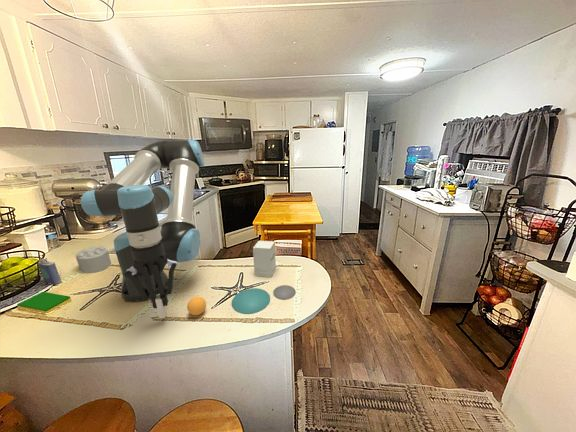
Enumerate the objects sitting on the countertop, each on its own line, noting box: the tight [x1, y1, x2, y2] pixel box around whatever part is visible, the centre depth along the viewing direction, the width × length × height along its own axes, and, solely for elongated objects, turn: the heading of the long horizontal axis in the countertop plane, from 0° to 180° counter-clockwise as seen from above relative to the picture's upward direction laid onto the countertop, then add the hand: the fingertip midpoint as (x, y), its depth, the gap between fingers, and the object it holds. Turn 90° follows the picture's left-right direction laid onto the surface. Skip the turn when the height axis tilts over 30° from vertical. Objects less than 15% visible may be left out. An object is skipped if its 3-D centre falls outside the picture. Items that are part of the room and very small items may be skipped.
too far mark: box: [272, 284, 296, 301], centre depth 80 cm, size 8×8×1 cm
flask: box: [37, 257, 62, 286], centre depth 89 cm, size 9×3×11 cm, turn 68°
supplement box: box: [252, 240, 277, 278], centre depth 92 cm, size 7×7×13 cm
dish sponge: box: [16, 291, 72, 313], centre depth 77 cm, size 7×14×2 cm, turn 76°
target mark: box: [231, 287, 271, 315], centre depth 76 cm, size 13×13×1 cm
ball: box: [186, 296, 207, 316], centre depth 70 cm, size 6×6×6 cm
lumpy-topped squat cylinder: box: [74, 245, 112, 274], centre depth 101 cm, size 10×13×9 cm
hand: (163, 314), depth 67 cm, fingers closed
